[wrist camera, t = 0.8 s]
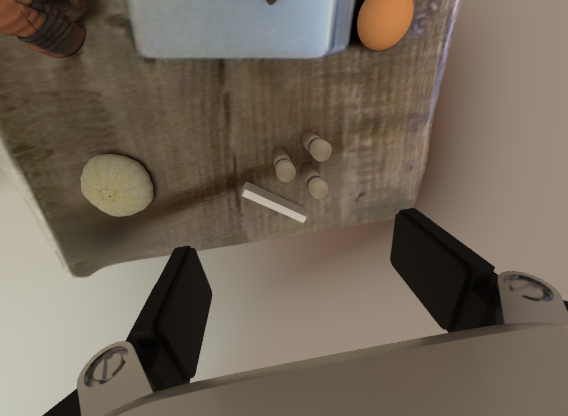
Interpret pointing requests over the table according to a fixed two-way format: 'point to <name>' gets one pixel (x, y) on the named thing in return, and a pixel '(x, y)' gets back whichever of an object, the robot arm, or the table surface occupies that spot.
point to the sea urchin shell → (116, 184)
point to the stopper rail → (273, 202)
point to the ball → (384, 22)
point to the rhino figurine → (271, 1)
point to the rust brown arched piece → (45, 24)
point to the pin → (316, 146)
